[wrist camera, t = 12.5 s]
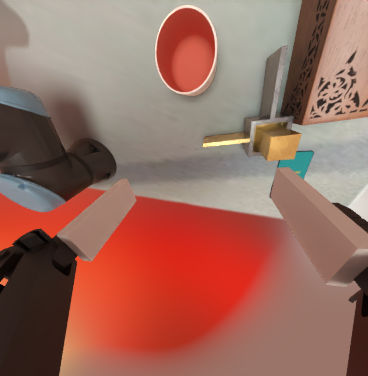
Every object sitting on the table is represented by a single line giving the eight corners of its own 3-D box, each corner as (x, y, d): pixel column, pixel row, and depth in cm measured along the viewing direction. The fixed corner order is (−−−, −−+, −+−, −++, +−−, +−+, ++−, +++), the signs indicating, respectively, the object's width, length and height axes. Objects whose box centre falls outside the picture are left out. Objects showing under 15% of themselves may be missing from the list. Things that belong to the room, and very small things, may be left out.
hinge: (205, 151, 38) (204, 160, 32) (200, 75, 29) (196, 68, 23) (273, 144, 34) (284, 153, 28) (291, 52, 25) (313, 38, 19)
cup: (226, 67, 28) (231, 53, 19) (192, 106, 33) (184, 108, 24) (195, 18, 25) (185, -22, 17) (162, 69, 30) (143, 57, 22)
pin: (252, 144, 32) (267, 160, 23) (254, 126, 30) (271, 137, 21) (271, 142, 31) (294, 159, 22) (274, 123, 29) (301, 133, 20)
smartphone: (315, 151, 32) (295, 199, 40) (313, 150, 33) (294, 197, 41) (281, 152, 34) (269, 198, 42) (280, 151, 35) (268, 197, 42)
